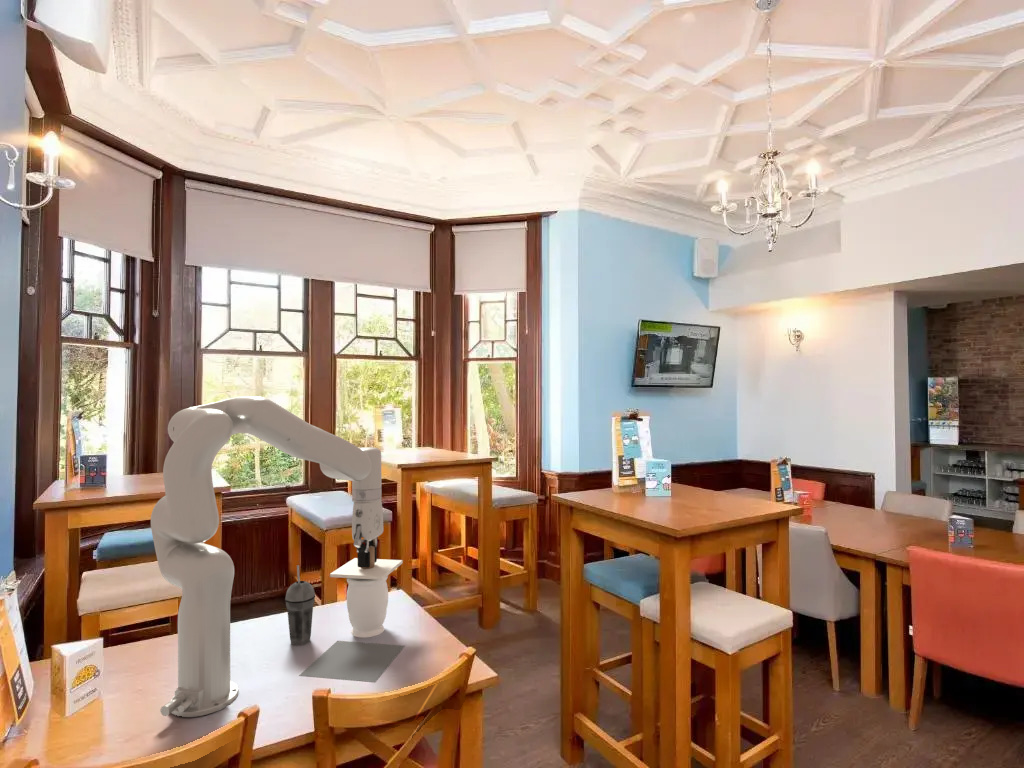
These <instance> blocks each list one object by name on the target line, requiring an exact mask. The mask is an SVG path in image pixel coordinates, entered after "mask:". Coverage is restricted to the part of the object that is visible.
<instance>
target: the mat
mask: <svg viewBox="0 0 1024 768" xmlns="http://www.w3.org/2000/svg"><path fill="white" fill-rule="evenodd" d="M405 647H406V645H403V644H402V645H400V644H387V643H376V642H375V643H374V642H362V641H361V642H359V641H345V640H337V641H335V642H334V643H333V644H332V645H331V646H329V648H328V649H327V650H325V652H323V653H322V654H321V655H320V656H319V657H318V658H316V660H314V661H313V662H312V663H311V664H310V665H309V666H308V667H306V668H305V669H304V670H303V672H301V673H300V674H299V675H298V677H311V678H321V679H322V678H323V679H330V680H331V679H332V680H343V681H355V682H367V683H377V681H378V680H379V678H380V677H381V676H382V675H383V674H384V673H385V671H386V670H387V669H388V667H389V666H390V665H391V664H392V662H393V661H394V660H395V659H396V658H397V656H398V655H399V654H400V653H401V651H403V650H404V649H405Z"/></svg>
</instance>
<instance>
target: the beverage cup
mask: <svg viewBox="0 0 1024 768" xmlns="http://www.w3.org/2000/svg"><path fill="white" fill-rule="evenodd" d="M296 572H297V573H296V574H297V581H295V582H294V583H292V584H291V585H290V586H289V587H288V588H287V590H286V594H285V597H284V602H285V606H286V610H287V617H288V622H287V623H288V629H289V640H290V645H292V646H295V647H297V646H304V645H307V644H309V643H310V642H311V635H312V626H313V625H312V624H313V613H314V605H315V599H316V592H315V589H314V587H313V585H312V584H311V583H310V582H308V581H305V580H301V579H300V578H301V577H300V565H296Z"/></svg>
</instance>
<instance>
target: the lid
mask: <svg viewBox="0 0 1024 768" xmlns="http://www.w3.org/2000/svg"><path fill="white" fill-rule="evenodd" d="M368 552H370V567H368V568H366V567H358V557H354V558H353V559H351V560H349V561H347V562H346V563H345V564H343V565H342V566H340V567H338V568H336V569H335V570H333V571H332V572H330V573H329V578H338V579H339V578H345V579H347V578H357V579H375V580H383V579H384V578H385V577H386V576H387V575H388V576H389V575H390V574H391V573H393V572H394V571H395V570H397V568H399V567H400V566H401V565H402V564H403V561H404V560H403V559H385V558H384V559H382V558H381V559H380V558H377V561H376V562H375V547H374V546H369V550H368Z"/></svg>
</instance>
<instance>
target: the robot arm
mask: <svg viewBox="0 0 1024 768" xmlns="http://www.w3.org/2000/svg"><path fill="white" fill-rule="evenodd" d="M167 433H168V436H169V438H170V440H171V441H172V442H173V443H172V445H171V446H170V448H169V450H168V452H167V454H166V455H165V458H164V462H163V468H162V473H163V474H162V477H163V485H164V494H165V495H164V496H163V497H161V498H160V499H159V500H157V502H156V503H155V505H154V506H153V509H152V511H151V515H150V529H151V536H152V541H153V544H154V550H155V554H156V560H157V564H158V568H159V571H160V574H161V575H162V578H163V579H165V580H166V581H167V582H168V583H169V584H171V585H173V586H175V587H177V588H180V589H181V592H182V593H181V600H180V603H179V607H178V613H177V688H176V689H174V695H173V696H172V698H171V699H170V700H169V702H167V703H166V704H164V705H163V706H161V708H160V714H161V715H162V716H164V717H168V716H169V715H170V714H171V715H173V716H176V715H177V716H176V717H179V716H182V717H181V718H195V717H203V716H207V715H210V714H213V713H215V712H218V711H221V710H222V709H224V708H226V707H228V706H230V705H231V703H233V701H234V700H236V698H237V697H238V696H239V690H240V689H239V686H238V684H237V683H235V682H234V681H231V597H232V590H233V584H234V577H235V565H234V562H233V560H232V558H231V555H229V554H228V553H227V552H226V551H225V550H223V549H222V548H219V547H217V546H214V545H211V544H207V543H205V542H206V541H208V540H210V539H211V538H213V536H215V534H216V533H217V531H218V528H219V526H220V515H219V510H218V505H217V499H216V495H215V494H216V493H215V490H214V489H215V488H214V483H213V482H214V481H213V474H212V473H213V471H212V470H213V464H214V460H215V457H216V456H217V455H218V454H219V452H220V450H221V449H222V448H223V447H224V446H226V444H227V443H228V442H229V440H230V439H231V437H232V436H234V435H238V434H249V435H251V436H253V437H256V438H258V439H259V440H261V441H263V442H265V443H266V444H268V445H271V446H272V447H274V448H276V449H278V450H279V451H281V452H283V453H285V454H287V455H289V456H291V457H294V458H297V459H300V460H304V461H309V462H313V463H317V464H319V468H320V471H321V472H322V474H323V475H325V476H326V477H328V478H330V479H336V480H344V481H351V496H352V497H351V498H352V499H351V501H352V503H353V507H352V519H351V535H352V540H353V546H354V547H355V548H356V553H357V558H358V567H366V568H368V567H370V552H368V550H369V546H374V547H375V562H376V561H377V559H378V557H377V552H378V551H377V549H378V548H377V547H378V539H379V538H378V537H379V536H381V535H382V534H383V533H384V530H385V529H384V512H383V504H382V493H383V492H382V452H381V449H379V448H378V447H372V446H371V447H365V446H364V447H358V446H357V445H355V444H353V443H351V442H350V441H348V440H346V439H344V438H342V437H340V436H338V435H335V434H333V433H332V432H331V433H330V432H328V431H326V430H324V429H322V428H320V427H317V426H315V425H314V424H310V423H308V422H307V421H305V420H304V419H302V418H300V417H299V416H297V415H295V414H294V413H292V412H291V411H289V410H287V409H286V408H284V407H282V406H281V405H279V404H277V403H276V402H275V401H274V400H273V401H272V399H271V400H270V399H269V398H267V397H263V396H252V395H251V396H250V395H249V396H236V397H232V398H227V399H224V400H223V399H222V400H218V401H216V402H215V401H214V402H209V403H206V404H201V405H196V406H190V407H188V408H184V409H181V410H179V411H177V412H176V413H175V414H174V415H173V416H171V418H170V420H169V421H168V425H167Z"/></svg>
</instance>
